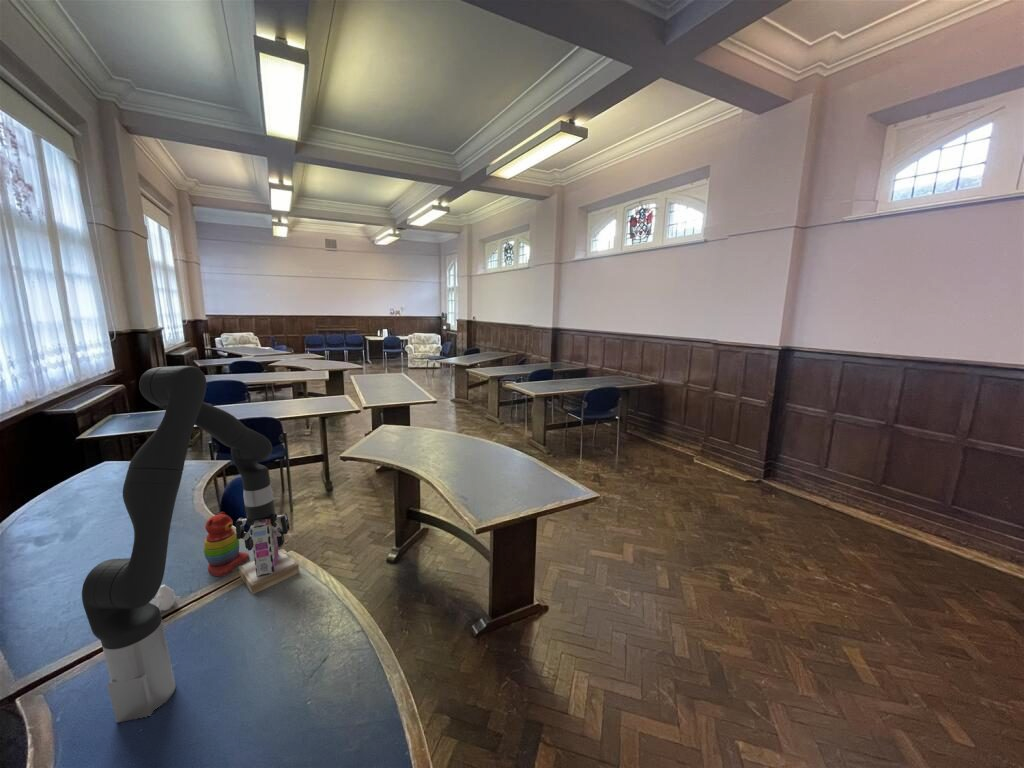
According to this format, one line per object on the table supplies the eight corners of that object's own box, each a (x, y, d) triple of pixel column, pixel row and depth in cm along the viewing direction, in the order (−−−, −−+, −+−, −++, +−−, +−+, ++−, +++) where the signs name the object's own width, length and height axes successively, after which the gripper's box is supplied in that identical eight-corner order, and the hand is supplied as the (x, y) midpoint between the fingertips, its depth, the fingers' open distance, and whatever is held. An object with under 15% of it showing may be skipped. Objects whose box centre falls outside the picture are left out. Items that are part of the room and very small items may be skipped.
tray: (299, 572, 128) (298, 563, 127) (253, 594, 118) (251, 584, 118) (284, 556, 136) (282, 547, 136) (239, 575, 127) (238, 566, 126)
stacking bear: (224, 577, 126) (215, 526, 122) (197, 573, 128) (188, 522, 124) (252, 556, 136) (245, 508, 133) (227, 553, 138) (219, 506, 135)
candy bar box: (275, 573, 123) (268, 524, 119) (256, 577, 121) (248, 528, 117) (279, 553, 133) (273, 507, 129) (262, 556, 131) (255, 510, 127)
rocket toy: (158, 618, 110) (152, 593, 108) (151, 610, 113) (146, 585, 111) (182, 606, 114) (177, 581, 112) (175, 598, 117) (170, 574, 115)
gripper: (227, 508, 117) (235, 557, 120) (280, 503, 120) (286, 551, 123) (238, 496, 125) (246, 543, 128) (288, 491, 127) (294, 538, 130)
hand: (265, 547), depth 125 cm, fingers open, 8 cm apart
